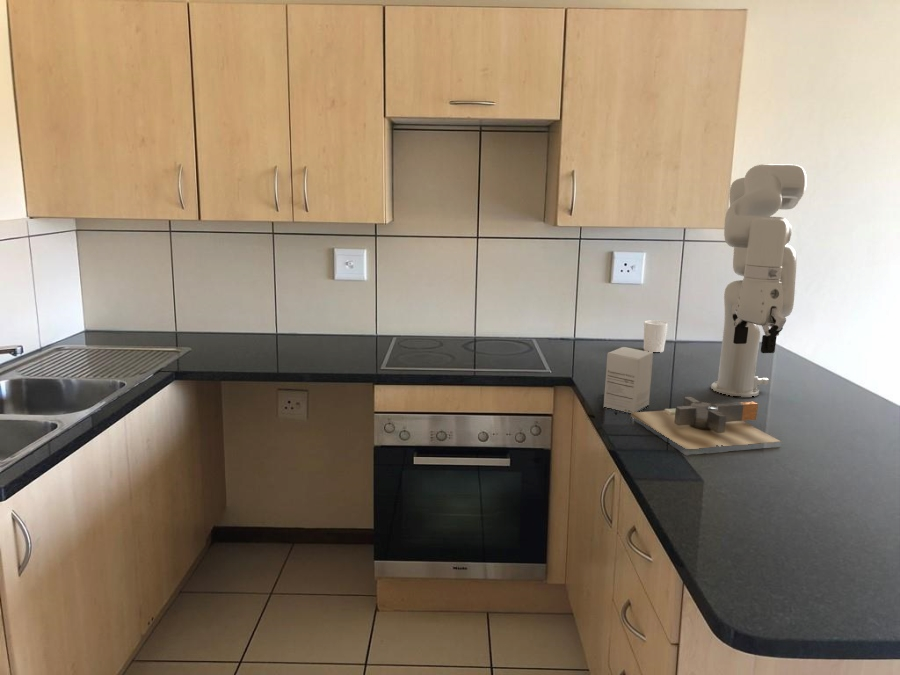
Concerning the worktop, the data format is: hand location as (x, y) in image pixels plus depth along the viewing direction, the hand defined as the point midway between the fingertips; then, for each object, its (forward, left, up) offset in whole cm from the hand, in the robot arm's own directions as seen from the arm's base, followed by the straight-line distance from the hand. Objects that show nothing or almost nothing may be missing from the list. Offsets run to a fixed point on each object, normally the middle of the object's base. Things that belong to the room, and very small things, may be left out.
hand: (753, 348), depth 158 cm
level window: (+9, -13, -19) cm, 25 cm away
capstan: (+5, -3, -19) cm, 20 cm away
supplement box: (+18, -23, -21) cm, 36 cm away
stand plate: (+9, -3, -21) cm, 23 cm away
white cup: (-22, -77, -21) cm, 83 cm away
